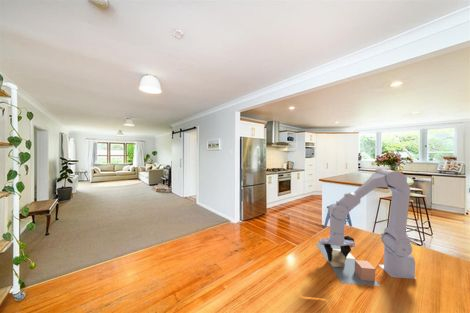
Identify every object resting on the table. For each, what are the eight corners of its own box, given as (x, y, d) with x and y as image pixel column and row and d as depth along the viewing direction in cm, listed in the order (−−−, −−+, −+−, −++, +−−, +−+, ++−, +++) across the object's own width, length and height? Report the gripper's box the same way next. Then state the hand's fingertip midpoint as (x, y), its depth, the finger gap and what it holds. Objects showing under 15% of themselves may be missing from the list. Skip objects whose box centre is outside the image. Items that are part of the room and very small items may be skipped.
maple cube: (339, 260, 83) (339, 249, 83) (344, 267, 78) (345, 256, 78) (327, 259, 84) (328, 249, 84) (332, 266, 79) (332, 255, 79)
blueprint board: (341, 245, 98) (342, 244, 98) (380, 287, 68) (380, 285, 68) (315, 244, 99) (315, 242, 99) (341, 284, 70) (341, 282, 70)
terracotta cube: (367, 272, 76) (367, 261, 75) (375, 281, 71) (375, 268, 70) (354, 271, 76) (354, 260, 76) (361, 280, 71) (361, 267, 71)
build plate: (334, 241, 104) (334, 233, 104) (343, 239, 106) (343, 231, 106) (354, 252, 92) (354, 244, 92) (364, 250, 95) (365, 241, 94)
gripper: (349, 228, 84) (348, 256, 84) (317, 226, 85) (316, 254, 86) (358, 235, 77) (357, 266, 77) (322, 233, 78) (321, 263, 79)
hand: (336, 260), depth 81 cm, fingers closed on maple cube, 5 cm apart
